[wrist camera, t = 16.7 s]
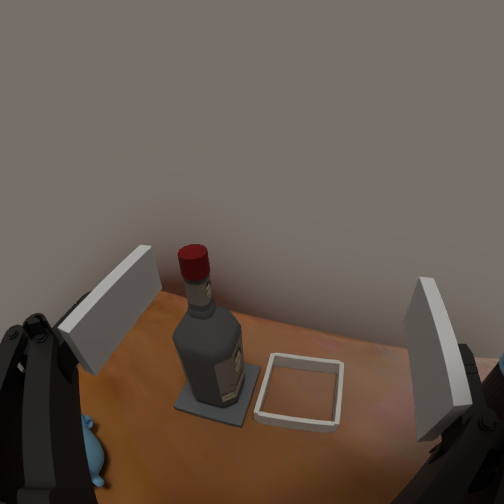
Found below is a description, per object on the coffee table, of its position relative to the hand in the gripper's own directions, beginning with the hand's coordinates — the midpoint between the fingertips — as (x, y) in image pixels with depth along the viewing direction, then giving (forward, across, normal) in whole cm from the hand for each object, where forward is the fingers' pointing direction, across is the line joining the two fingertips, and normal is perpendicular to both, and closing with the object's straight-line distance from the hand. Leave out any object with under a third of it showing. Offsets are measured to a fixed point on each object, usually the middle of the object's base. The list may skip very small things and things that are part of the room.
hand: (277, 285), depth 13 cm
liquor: (+16, -13, -39) cm, 44 cm away
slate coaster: (+16, -13, -40) cm, 45 cm away
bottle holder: (+18, +2, -40) cm, 44 cm away
